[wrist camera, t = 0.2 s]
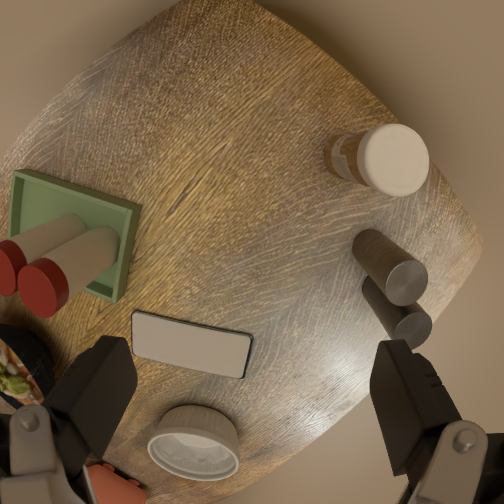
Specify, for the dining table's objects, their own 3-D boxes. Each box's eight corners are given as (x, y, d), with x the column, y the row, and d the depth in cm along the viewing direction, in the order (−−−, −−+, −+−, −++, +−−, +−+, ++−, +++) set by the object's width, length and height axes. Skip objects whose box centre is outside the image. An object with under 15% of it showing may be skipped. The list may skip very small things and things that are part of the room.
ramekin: (180, 384, 38) (167, 420, 32) (259, 422, 40) (258, 458, 33) (147, 425, 42) (135, 456, 35) (216, 457, 44) (211, 488, 37)
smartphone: (244, 380, 37) (131, 355, 36) (244, 377, 37) (133, 352, 37) (254, 336, 34) (130, 310, 34) (254, 334, 35) (132, 308, 35)
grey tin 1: (362, 223, 31) (401, 252, 21) (391, 238, 31) (436, 271, 21) (345, 256, 32) (376, 297, 22) (375, 269, 32) (412, 312, 23)
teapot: (168, 495, 51) (156, 542, 37) (141, 501, 54) (129, 542, 40) (87, 446, 46) (63, 495, 33) (69, 456, 49) (47, 497, 36)
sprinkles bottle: (352, 127, 28) (413, 112, 15) (372, 167, 29) (441, 179, 16) (314, 146, 28) (352, 140, 16) (335, 187, 30) (385, 211, 17)
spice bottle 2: (93, 219, 31) (17, 256, 18) (126, 234, 31) (58, 280, 19) (85, 255, 32) (16, 302, 20) (117, 270, 33) (55, 327, 20)
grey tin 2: (372, 264, 32) (409, 306, 22) (399, 277, 32) (439, 319, 23) (355, 295, 33) (384, 344, 24) (382, 306, 33) (415, 354, 24)
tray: (18, 247, 33) (7, 253, 31) (26, 168, 30) (13, 170, 27) (124, 294, 34) (115, 304, 32) (142, 205, 31) (132, 210, 28)
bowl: (-6, 290, 36) (-45, 317, 26) (70, 327, 36) (32, 367, 27) (9, 366, 41) (-18, 395, 31) (79, 403, 42) (55, 442, 32)
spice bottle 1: (61, 208, 31) (-16, 238, 18) (91, 221, 31) (16, 259, 19) (56, 242, 32) (-15, 282, 20) (84, 257, 32) (15, 305, 20)
